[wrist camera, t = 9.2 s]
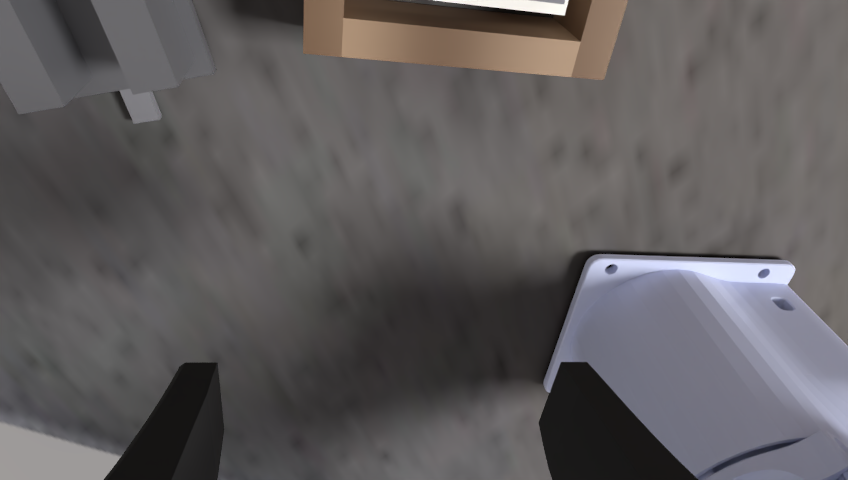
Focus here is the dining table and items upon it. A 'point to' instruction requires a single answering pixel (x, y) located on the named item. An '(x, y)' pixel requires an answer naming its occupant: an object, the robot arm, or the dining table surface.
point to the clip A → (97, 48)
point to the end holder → (467, 35)
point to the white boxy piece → (521, 5)
